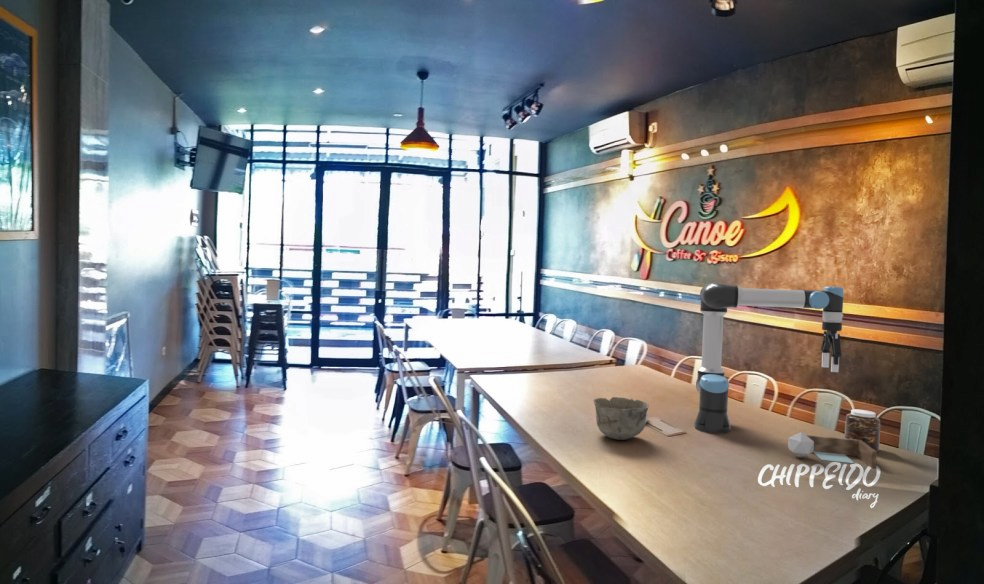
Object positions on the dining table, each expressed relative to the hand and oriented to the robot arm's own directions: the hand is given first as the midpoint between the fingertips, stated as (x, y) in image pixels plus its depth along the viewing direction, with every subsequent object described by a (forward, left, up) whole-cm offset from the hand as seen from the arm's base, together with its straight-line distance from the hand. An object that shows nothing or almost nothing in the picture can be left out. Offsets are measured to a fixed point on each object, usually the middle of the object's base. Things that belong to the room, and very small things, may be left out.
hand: (829, 369), depth 259 cm
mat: (-9, -40, -28) cm, 50 cm away
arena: (-7, -40, -28) cm, 50 cm away
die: (-21, -44, -28) cm, 57 cm away
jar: (+7, -21, -28) cm, 36 cm away
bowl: (-88, -42, -28) cm, 102 cm away
